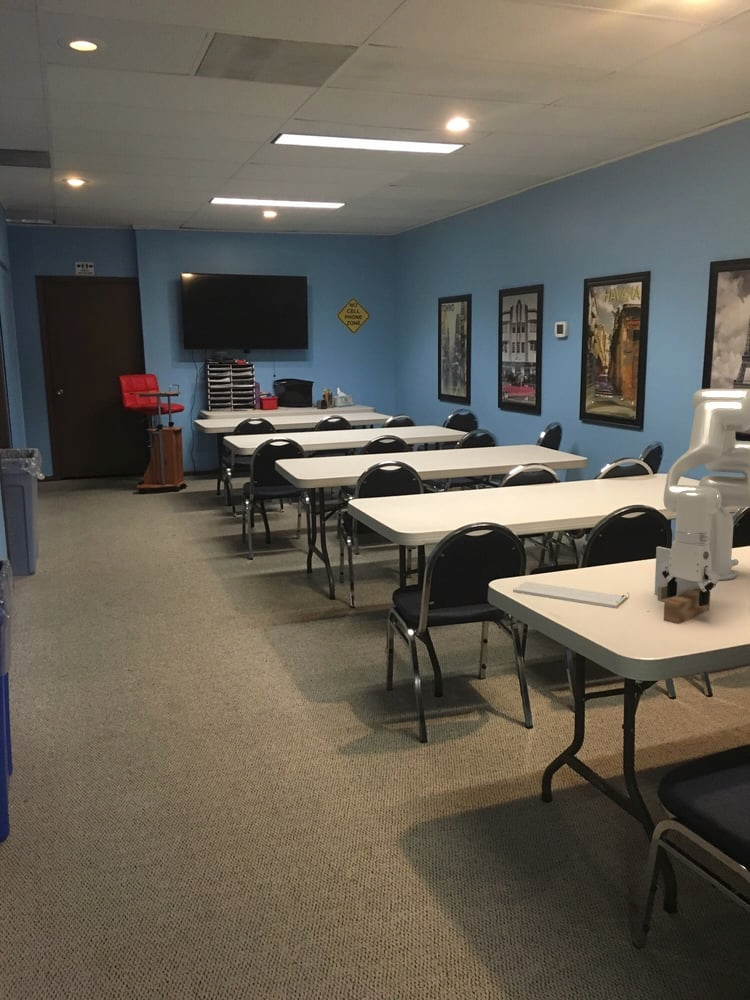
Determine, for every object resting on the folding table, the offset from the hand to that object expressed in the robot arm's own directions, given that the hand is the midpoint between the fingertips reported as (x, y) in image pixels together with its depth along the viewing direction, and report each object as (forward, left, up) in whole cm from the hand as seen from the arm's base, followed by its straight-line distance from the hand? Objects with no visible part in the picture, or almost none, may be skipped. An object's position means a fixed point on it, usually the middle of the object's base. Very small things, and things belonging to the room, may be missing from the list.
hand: (687, 600), depth 206 cm
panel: (-7, -9, -4) cm, 12 cm away
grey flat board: (+11, -31, -5) cm, 33 cm away
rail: (0, 0, -4) cm, 4 cm away
